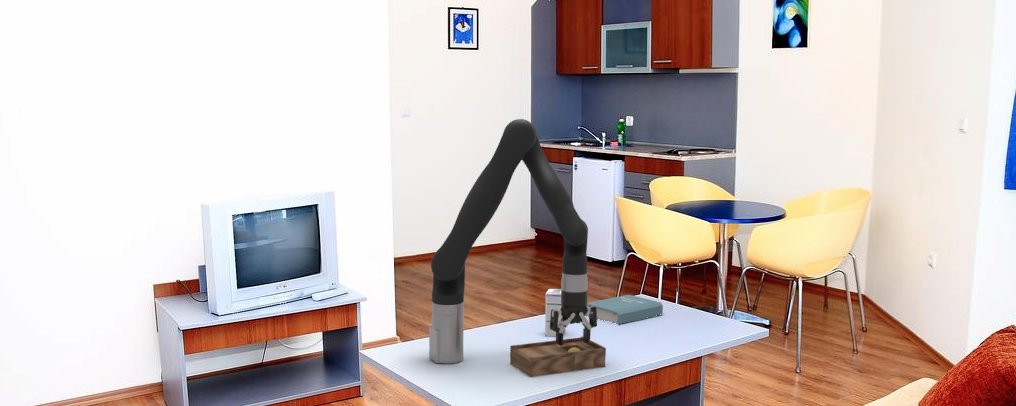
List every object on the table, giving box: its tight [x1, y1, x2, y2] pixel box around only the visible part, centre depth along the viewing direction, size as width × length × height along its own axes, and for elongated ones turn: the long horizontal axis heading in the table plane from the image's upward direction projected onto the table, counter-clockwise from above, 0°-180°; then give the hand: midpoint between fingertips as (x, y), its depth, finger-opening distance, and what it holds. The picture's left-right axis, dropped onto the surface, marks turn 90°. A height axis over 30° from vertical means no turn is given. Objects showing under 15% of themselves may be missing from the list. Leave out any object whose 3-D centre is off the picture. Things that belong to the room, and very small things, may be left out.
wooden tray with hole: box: [509, 335, 607, 378], centre depth 256 cm, size 24×13×6 cm, turn 115°
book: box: [585, 294, 664, 325], centre depth 315 cm, size 23×16×5 cm
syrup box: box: [544, 288, 566, 338], centre depth 288 cm, size 6×6×14 cm
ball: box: [568, 348, 581, 352], centre depth 258 cm, size 5×5×5 cm
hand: (573, 343), depth 257 cm, fingers open, 8 cm apart
